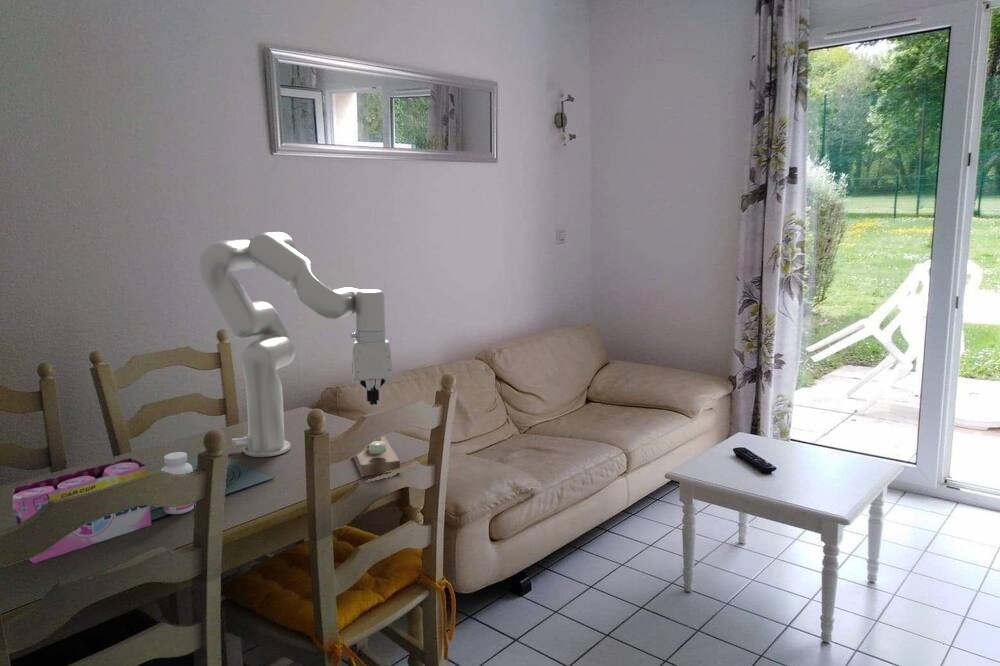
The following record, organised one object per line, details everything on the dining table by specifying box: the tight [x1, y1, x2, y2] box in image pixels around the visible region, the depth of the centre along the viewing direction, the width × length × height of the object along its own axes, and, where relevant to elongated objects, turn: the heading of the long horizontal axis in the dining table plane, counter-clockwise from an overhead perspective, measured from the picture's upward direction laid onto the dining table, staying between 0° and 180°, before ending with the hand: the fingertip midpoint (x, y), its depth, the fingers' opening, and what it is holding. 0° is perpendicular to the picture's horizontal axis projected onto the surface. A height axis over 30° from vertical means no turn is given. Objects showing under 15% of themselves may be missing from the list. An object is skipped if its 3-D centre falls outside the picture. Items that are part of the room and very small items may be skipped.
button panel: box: [353, 435, 401, 477], centre depth 191 cm, size 10×22×3 cm, turn 20°
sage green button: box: [369, 441, 386, 454], centre depth 184 cm, size 4×4×2 cm
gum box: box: [12, 457, 152, 564], centre depth 143 cm, size 24×8×14 cm, turn 141°
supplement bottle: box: [160, 451, 195, 515], centre depth 158 cm, size 7×7×13 cm
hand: (373, 403), depth 188 cm, fingers closed
